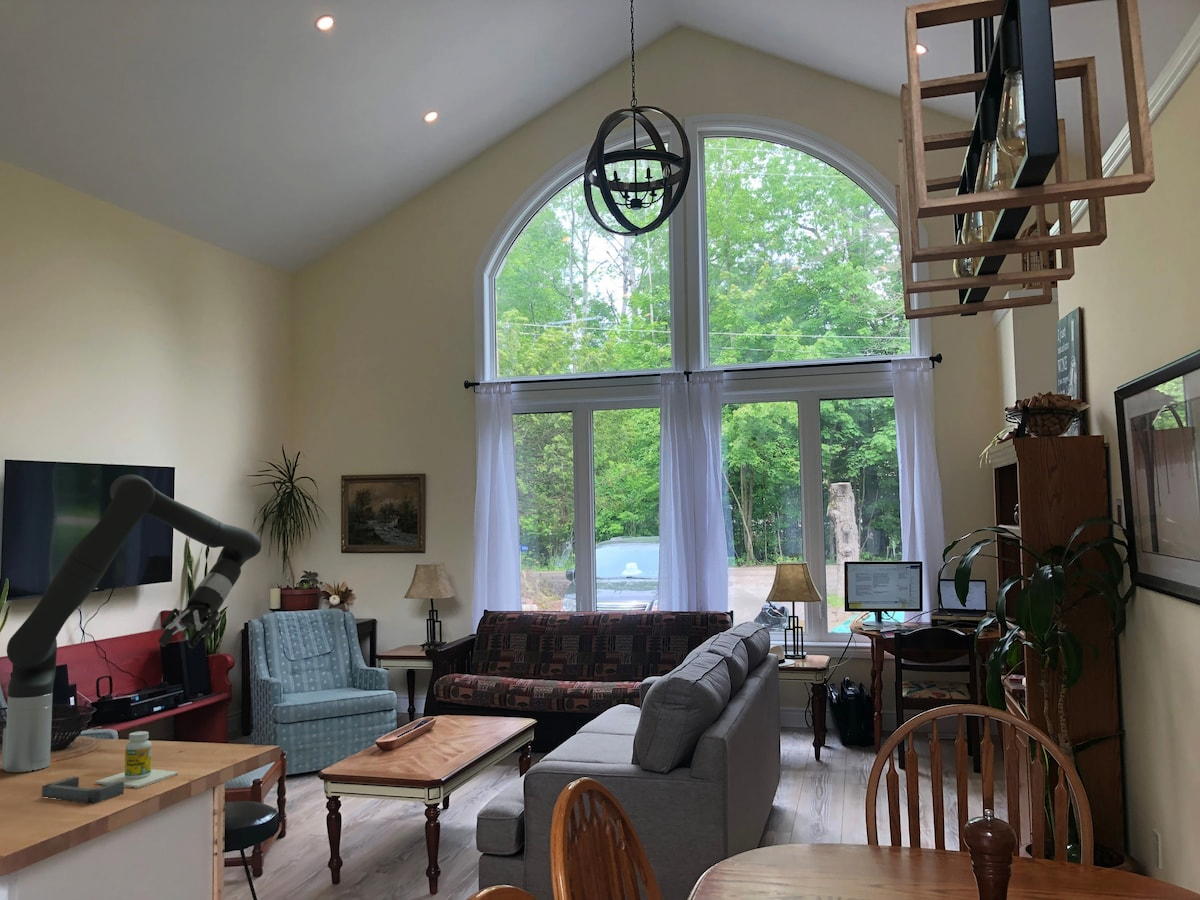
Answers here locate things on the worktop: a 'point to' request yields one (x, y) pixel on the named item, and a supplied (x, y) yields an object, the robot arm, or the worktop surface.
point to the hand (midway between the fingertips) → (175, 645)
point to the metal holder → (81, 791)
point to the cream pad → (136, 783)
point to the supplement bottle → (138, 756)
